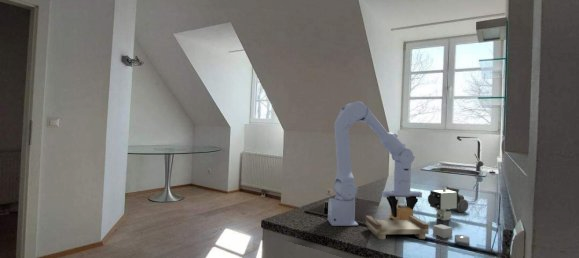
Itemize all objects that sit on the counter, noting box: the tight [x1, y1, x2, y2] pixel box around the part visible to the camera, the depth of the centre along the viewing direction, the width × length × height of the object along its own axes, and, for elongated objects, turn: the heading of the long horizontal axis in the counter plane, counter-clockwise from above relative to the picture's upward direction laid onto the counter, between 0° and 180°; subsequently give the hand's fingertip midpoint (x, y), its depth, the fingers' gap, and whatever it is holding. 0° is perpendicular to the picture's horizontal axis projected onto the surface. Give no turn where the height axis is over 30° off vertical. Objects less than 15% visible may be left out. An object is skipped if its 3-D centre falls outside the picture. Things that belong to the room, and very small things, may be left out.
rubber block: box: [432, 223, 453, 239], centre depth 102 cm, size 4×4×3 cm
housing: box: [388, 203, 414, 220], centre depth 116 cm, size 5×10×6 cm, turn 5°
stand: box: [365, 215, 430, 240], centre depth 103 cm, size 17×10×4 cm, turn 95°
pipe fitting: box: [446, 185, 469, 214], centre depth 136 cm, size 12×8×10 cm
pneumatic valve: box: [427, 187, 460, 222], centre depth 121 cm, size 6×12×12 cm, turn 108°
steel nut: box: [454, 234, 471, 246], centre depth 95 cm, size 4×4×2 cm
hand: (401, 216), depth 116 cm, fingers closed on housing, 5 cm apart
